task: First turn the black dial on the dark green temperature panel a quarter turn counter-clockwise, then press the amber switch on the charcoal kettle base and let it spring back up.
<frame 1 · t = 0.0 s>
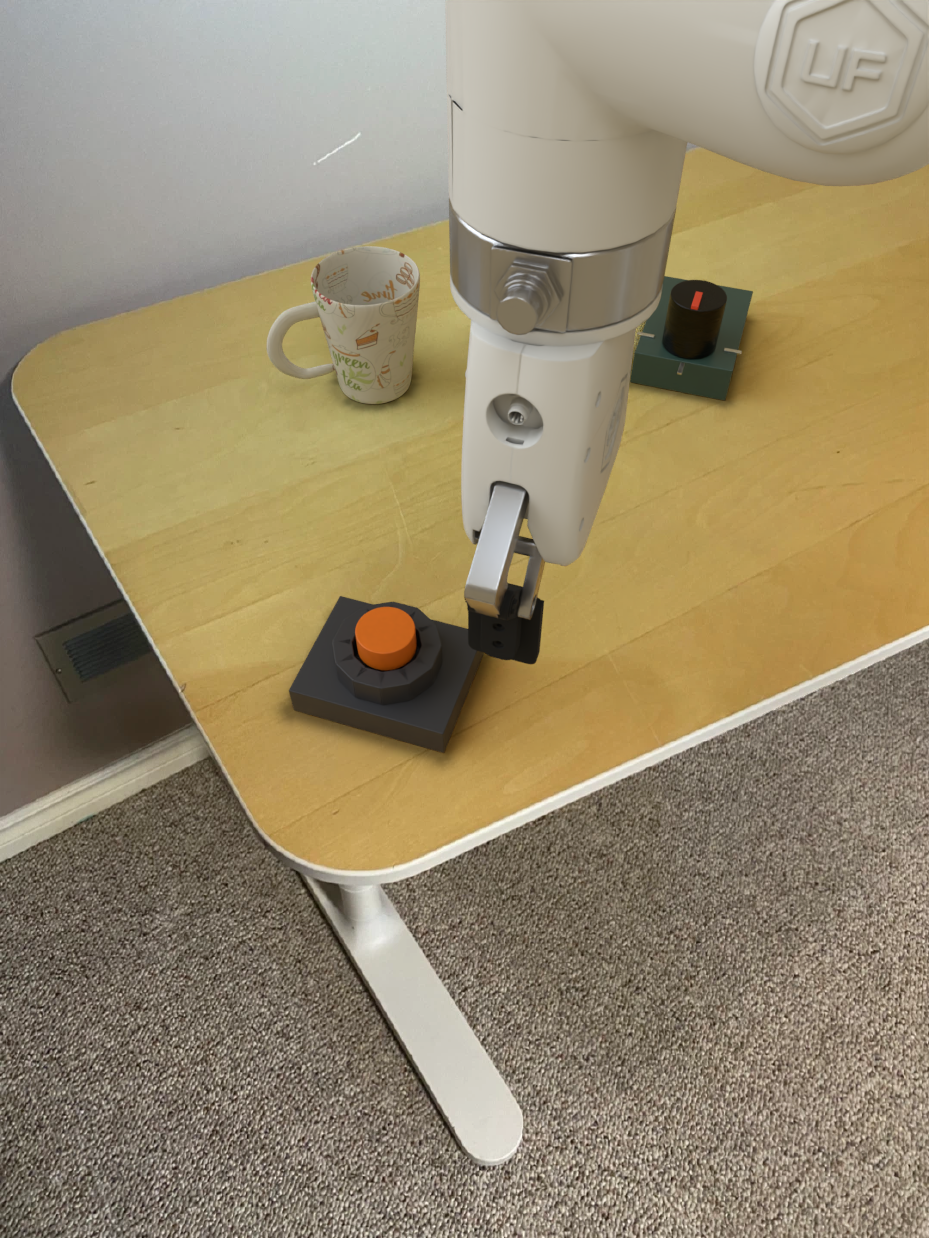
hand: (532, 575, 46), 16 cm above the table, tool pointing down, fingers open, 9 cm apart
kettle switch: (386, 638, 58), point 4 cm above the table, slide at 0.1 cm
dial: (694, 318, 77), point 5 cm above the table, hinge at 0.0°
mug: (351, 390, 81), on the table
dial panel: (689, 350, 84), on the table
kettle base: (390, 681, 62), on the table
pen: (553, 241, 95), on the table
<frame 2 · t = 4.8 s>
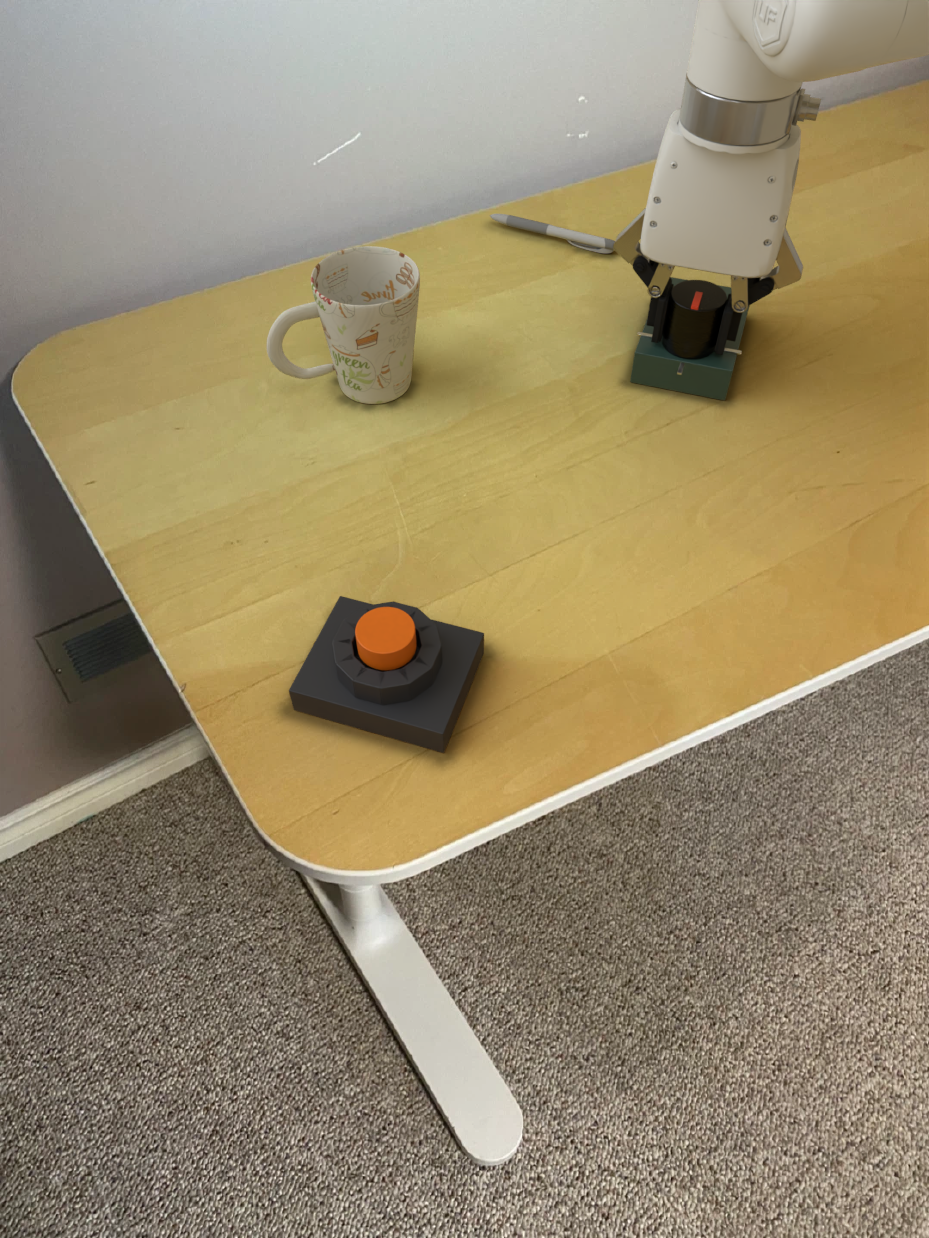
hand: (690, 337, 79), 4 cm above the table, tool pointing down, fingers closed on dial, 4 cm apart
dial: (694, 318, 77), point 5 cm above the table, hinge at 0.1°, touching gripper
everything else where it was.
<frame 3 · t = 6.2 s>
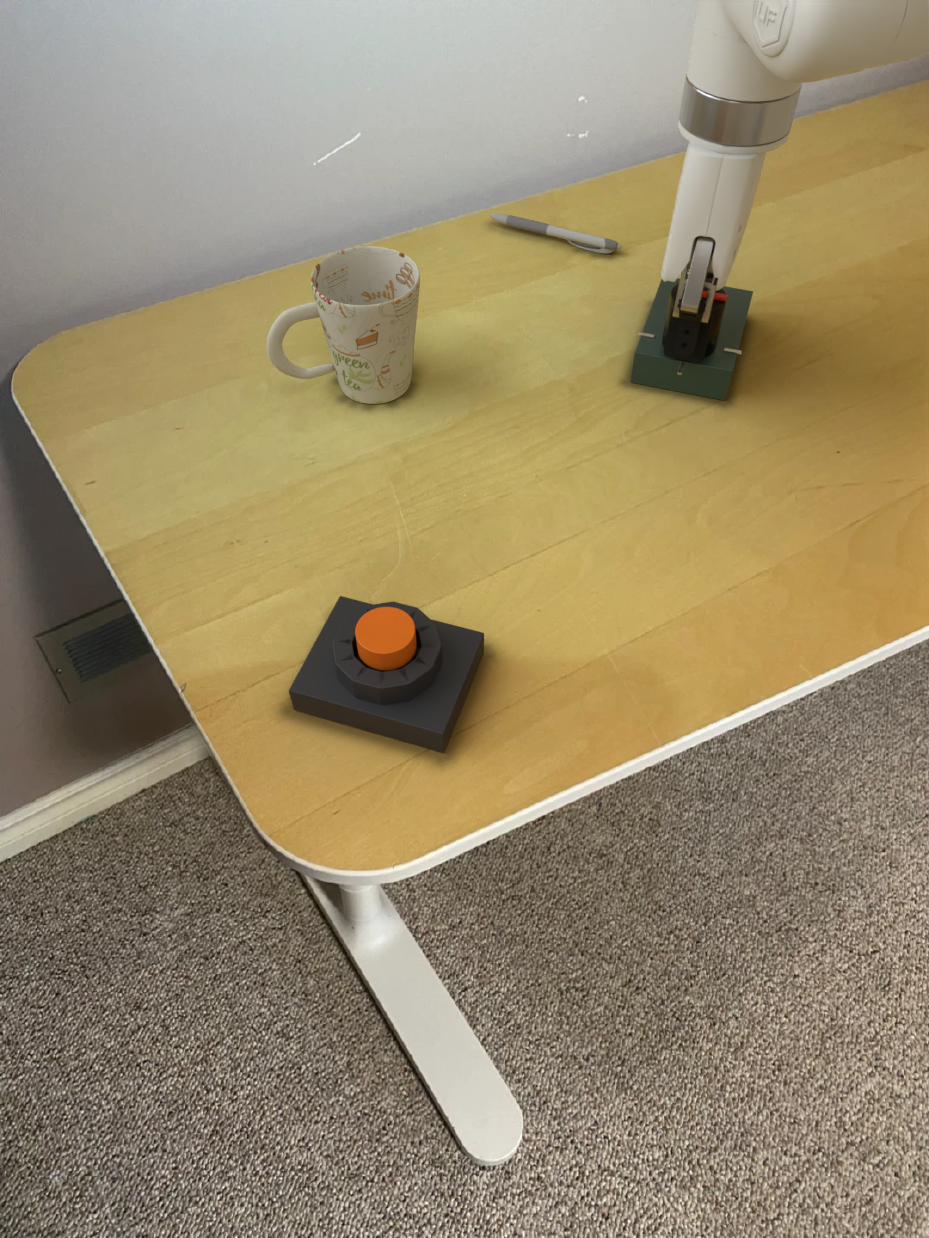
hand: (689, 337, 79), 4 cm above the table, tool pointing down, fingers closed on dial, 4 cm apart
dial: (694, 318, 77), point 5 cm above the table, hinge at 89.7°, touching gripper
everything else where it was.
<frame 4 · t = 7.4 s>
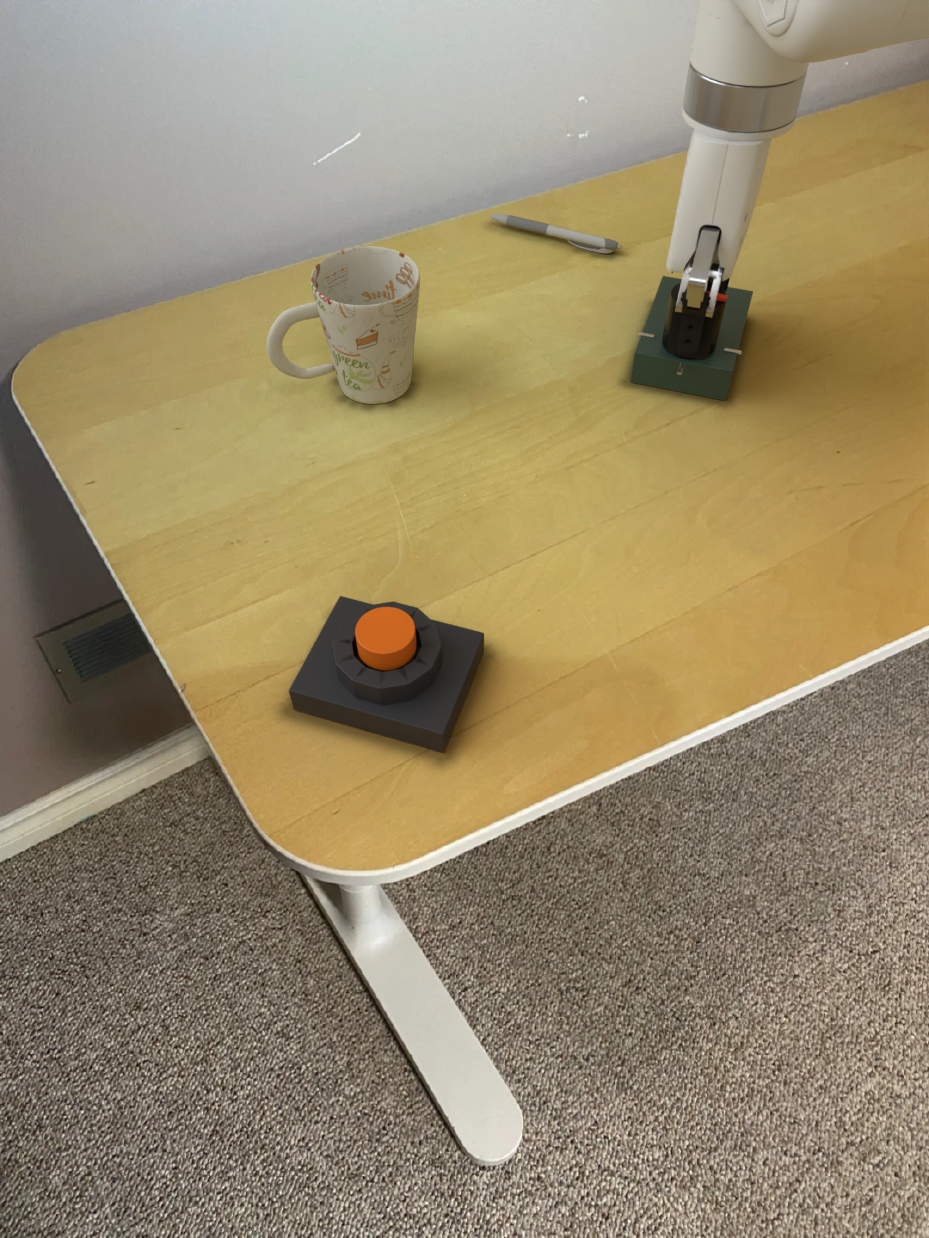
hand: (697, 320, 77), 5 cm above the table, tool pointing down, fingers open, 9 cm apart
dial: (694, 318, 77), point 5 cm above the table, hinge at 87.2°
everything else where it was.
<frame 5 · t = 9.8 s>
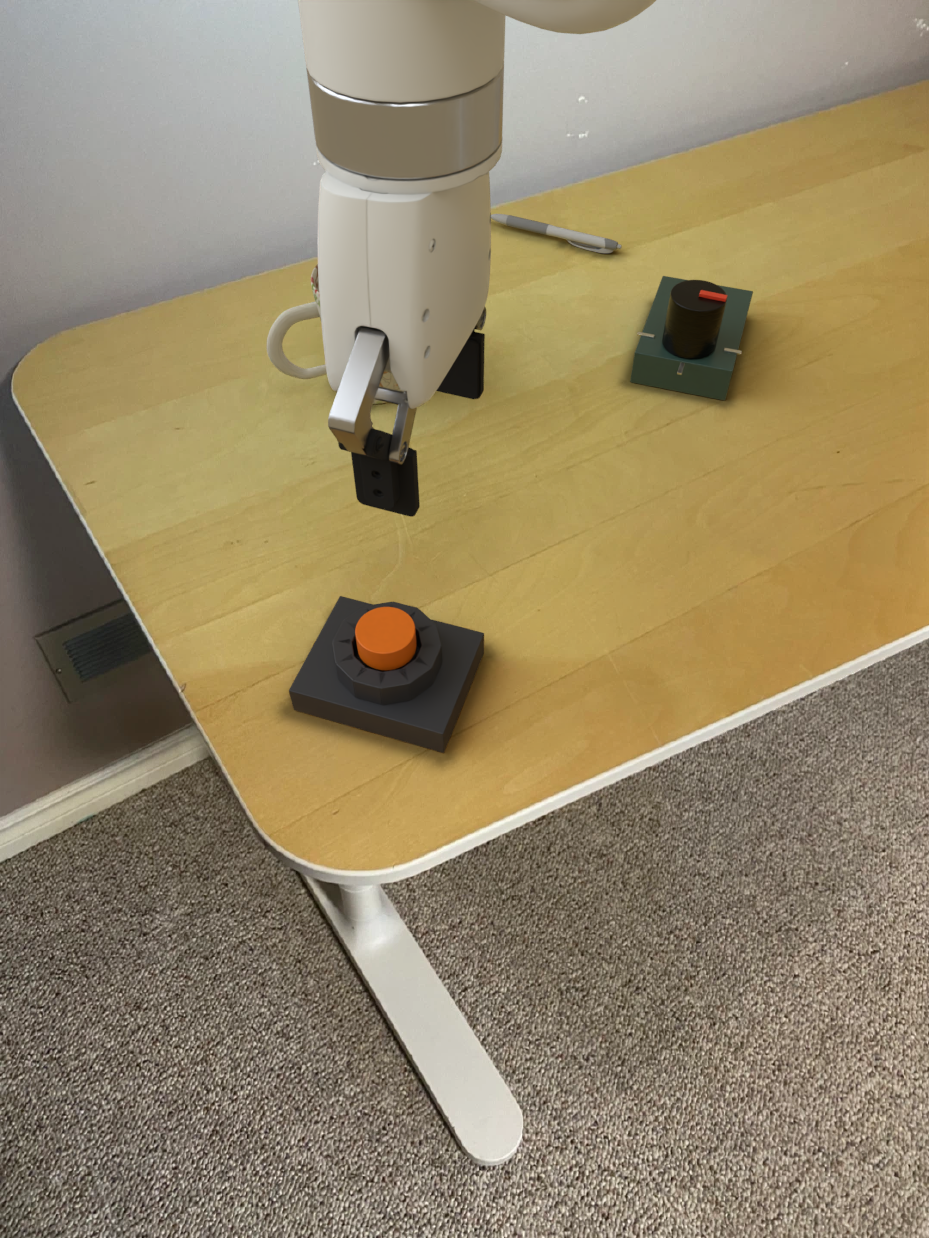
hand: (423, 446, 51), 16 cm above the table, tool pointing down, fingers open, 9 cm apart
nothing on the table moved.
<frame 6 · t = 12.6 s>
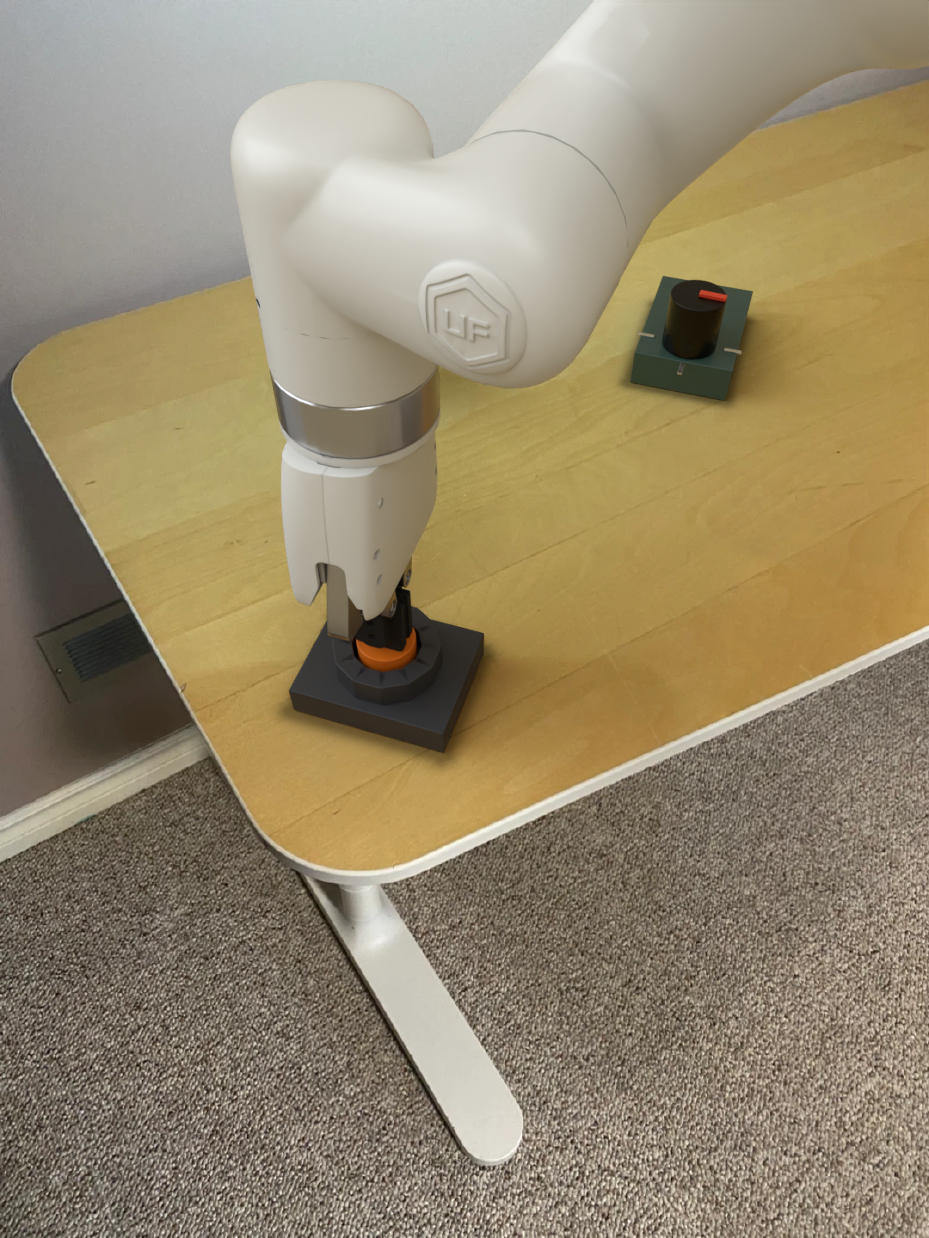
hand: (383, 635, 58), 5 cm above the table, tool pointing down, fingers closed
kettle switch: (387, 645, 59), point 4 cm above the table, slide at -0.7 cm, touching gripper
everything else where it was.
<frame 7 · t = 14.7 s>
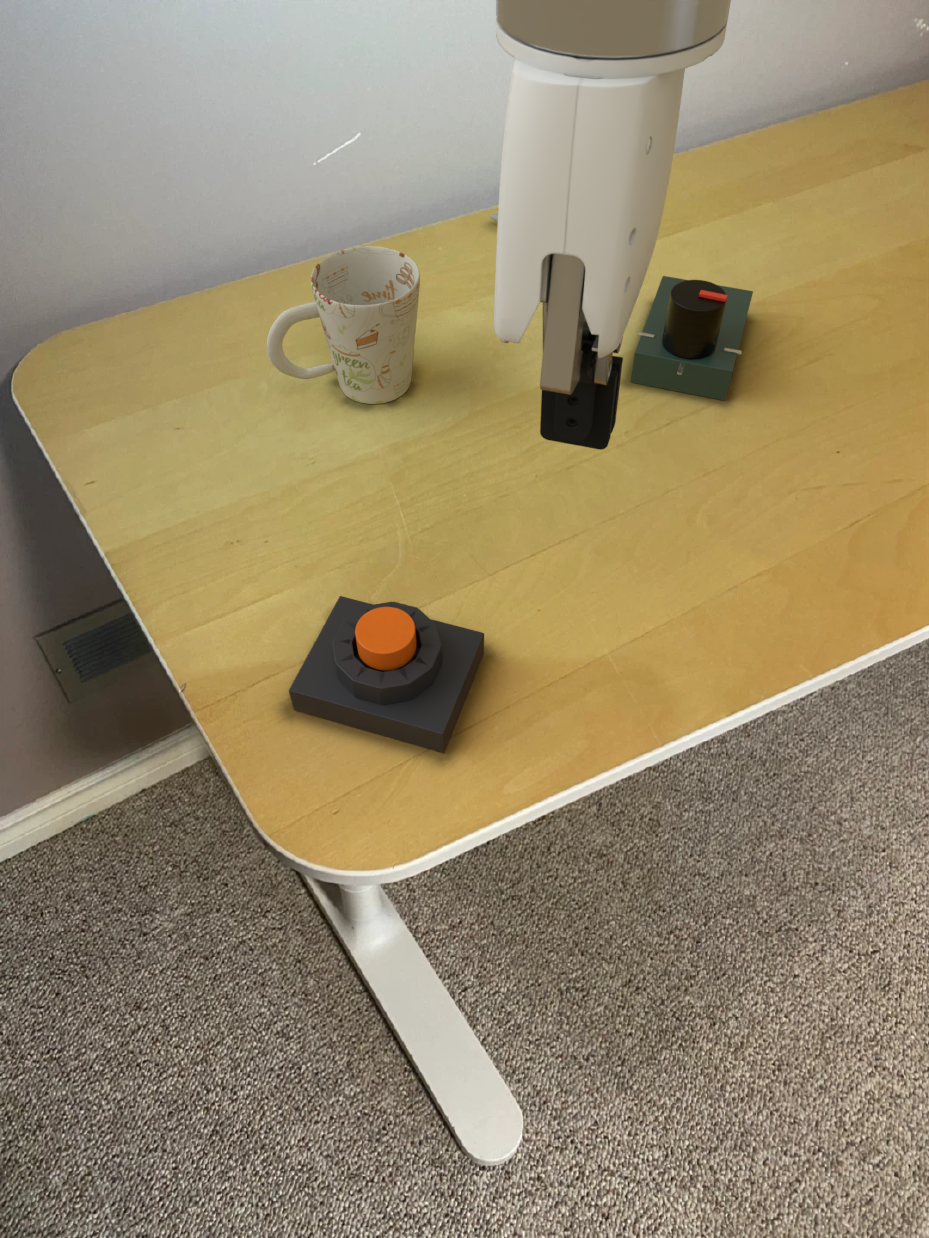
hand: (577, 433, 45), 21 cm above the table, tool pointing down, fingers closed
kettle switch: (386, 638, 58), point 4 cm above the table, slide at 0.1 cm
everything else where it was.
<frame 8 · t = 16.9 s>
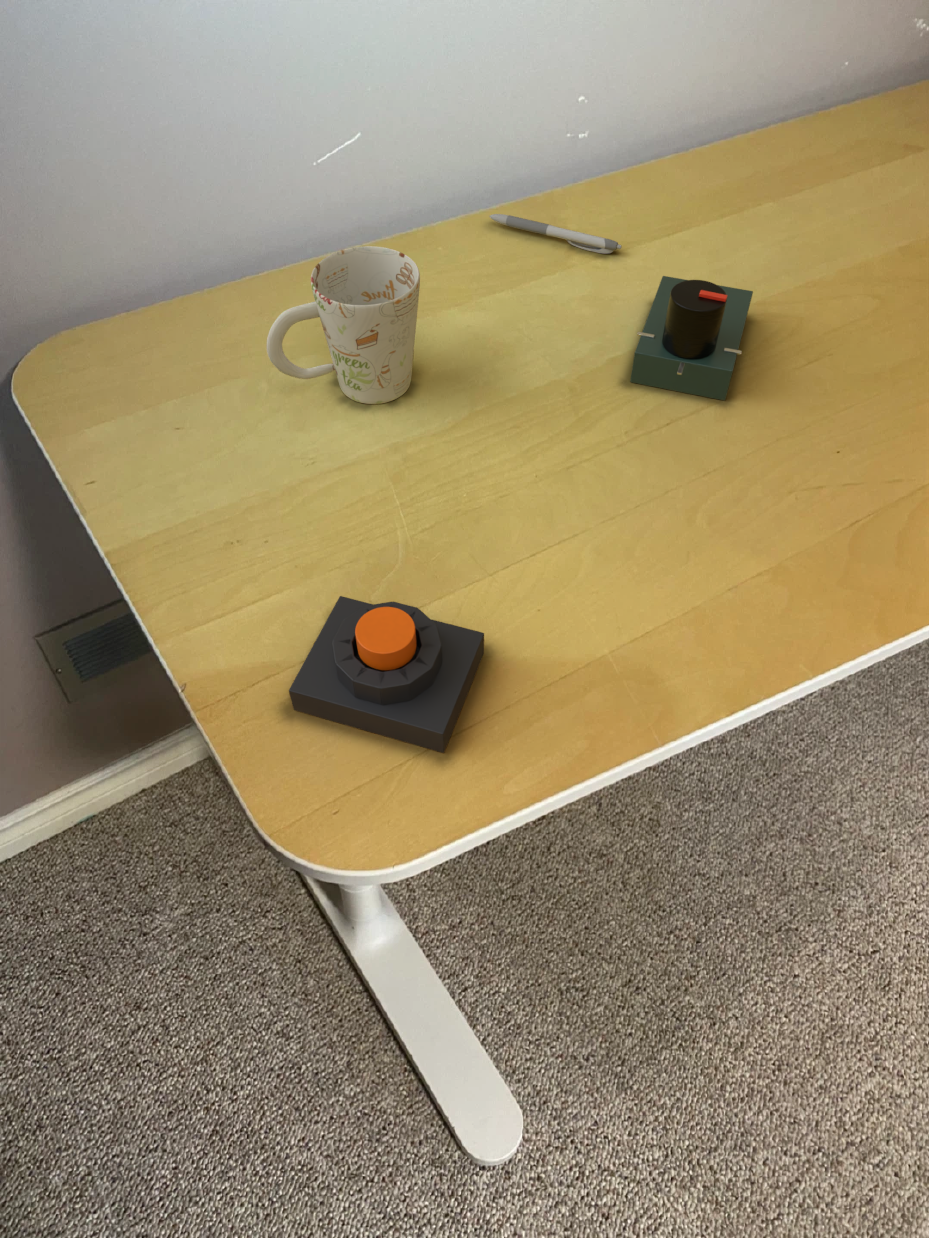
nothing on the table moved.
at the end: dial at +87° (first picture: +0°); kettle switch pushed in 1.1 cm at the most during the clip, back to where it started at the end; kettle switch slide at 0.1 cm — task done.
